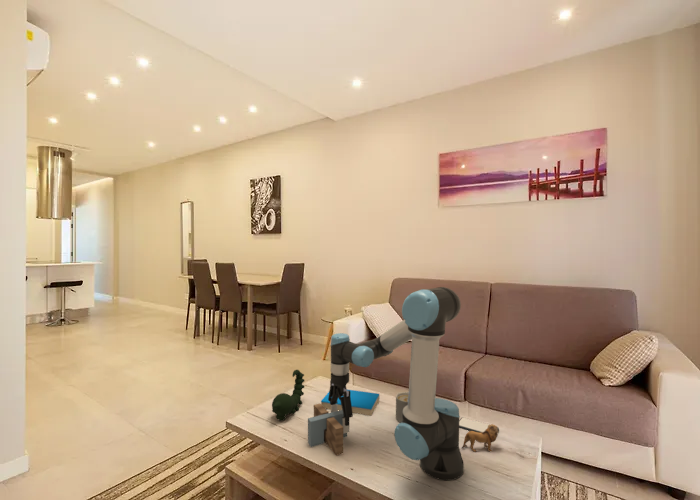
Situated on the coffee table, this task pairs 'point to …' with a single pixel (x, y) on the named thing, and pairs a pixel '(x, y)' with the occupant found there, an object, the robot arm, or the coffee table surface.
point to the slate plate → (321, 427)
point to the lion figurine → (482, 437)
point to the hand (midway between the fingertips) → (339, 426)
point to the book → (356, 402)
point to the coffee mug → (401, 404)
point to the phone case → (473, 425)
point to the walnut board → (331, 431)
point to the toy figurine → (289, 399)
